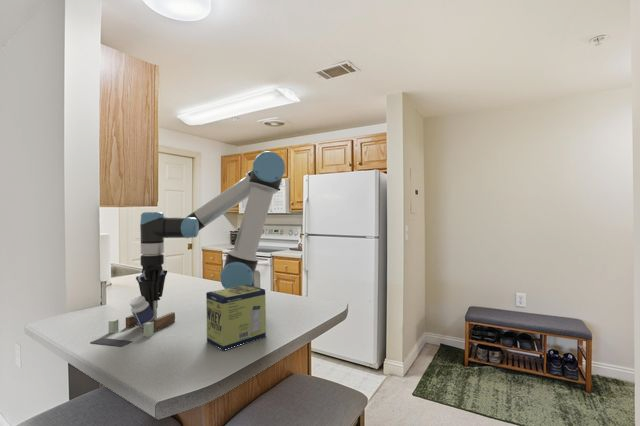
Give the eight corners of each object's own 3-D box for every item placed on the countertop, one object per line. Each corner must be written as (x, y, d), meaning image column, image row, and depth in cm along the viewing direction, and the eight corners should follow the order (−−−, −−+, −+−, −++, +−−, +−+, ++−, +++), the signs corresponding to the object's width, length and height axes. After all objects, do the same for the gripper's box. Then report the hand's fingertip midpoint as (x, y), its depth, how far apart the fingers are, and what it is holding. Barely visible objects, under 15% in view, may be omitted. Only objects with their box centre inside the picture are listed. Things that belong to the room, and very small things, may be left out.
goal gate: (153, 334, 107) (153, 322, 107) (148, 336, 105) (148, 324, 105) (113, 330, 111) (113, 319, 111) (108, 332, 109) (108, 320, 109)
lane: (174, 322, 120) (174, 312, 120) (157, 330, 111) (157, 320, 111) (145, 319, 123) (145, 310, 123) (125, 327, 114) (125, 317, 114)
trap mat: (132, 341, 101) (132, 341, 101) (121, 346, 97) (121, 346, 97) (101, 338, 104) (101, 337, 104) (89, 343, 100) (89, 342, 100)
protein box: (205, 342, 101) (205, 292, 101) (248, 329, 112) (248, 284, 112) (222, 352, 93) (222, 297, 93) (266, 337, 105) (266, 288, 105)
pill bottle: (158, 316, 118) (149, 294, 114) (150, 327, 113) (139, 305, 109) (144, 317, 119) (134, 295, 115) (135, 329, 113) (124, 306, 110)
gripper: (156, 251, 125) (156, 312, 126) (129, 256, 113) (129, 323, 114) (173, 252, 124) (173, 313, 124) (147, 257, 111) (147, 325, 112)
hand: (152, 318), depth 119 cm, fingers closed
